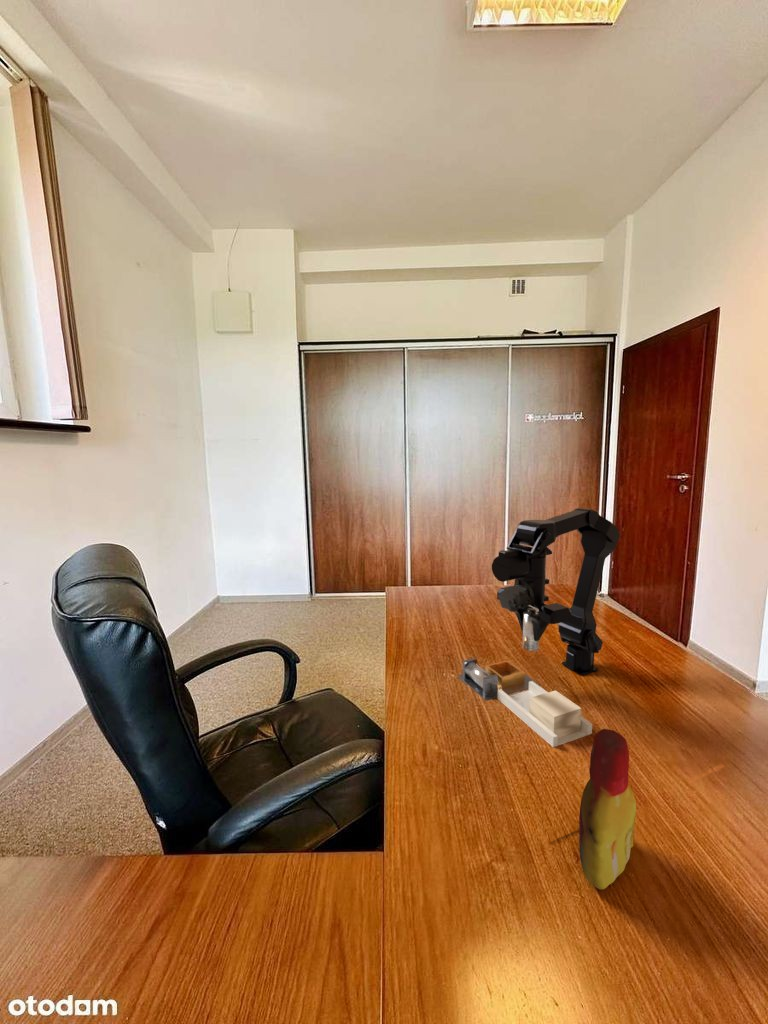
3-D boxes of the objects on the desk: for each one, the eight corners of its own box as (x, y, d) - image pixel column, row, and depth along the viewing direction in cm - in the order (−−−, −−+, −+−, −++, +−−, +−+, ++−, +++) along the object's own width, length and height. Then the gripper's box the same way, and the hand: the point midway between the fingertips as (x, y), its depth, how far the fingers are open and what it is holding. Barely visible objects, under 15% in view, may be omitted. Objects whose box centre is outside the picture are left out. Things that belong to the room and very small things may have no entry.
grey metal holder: (508, 664, 112) (509, 647, 111) (540, 686, 101) (540, 668, 100) (458, 676, 106) (458, 659, 105) (485, 702, 95) (485, 682, 94)
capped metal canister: (530, 643, 101) (531, 606, 100) (541, 649, 98) (542, 611, 96) (519, 645, 99) (520, 608, 98) (530, 652, 96) (531, 613, 95)
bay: (531, 690, 99) (532, 680, 99) (591, 735, 83) (592, 724, 82) (497, 700, 95) (497, 690, 95) (553, 749, 79) (553, 737, 79)
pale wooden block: (552, 709, 91) (553, 688, 90) (580, 730, 84) (581, 708, 83) (527, 717, 88) (527, 696, 87) (553, 740, 81) (554, 716, 80)
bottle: (614, 914, 51) (622, 768, 48) (562, 877, 55) (567, 742, 53) (641, 848, 59) (649, 721, 56) (594, 821, 64) (599, 702, 61)
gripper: (479, 569, 101) (479, 629, 104) (535, 590, 84) (533, 662, 87) (515, 563, 106) (514, 621, 108) (574, 583, 89) (571, 651, 91)
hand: (530, 637), depth 98 cm, fingers closed on capped metal canister, 4 cm apart
